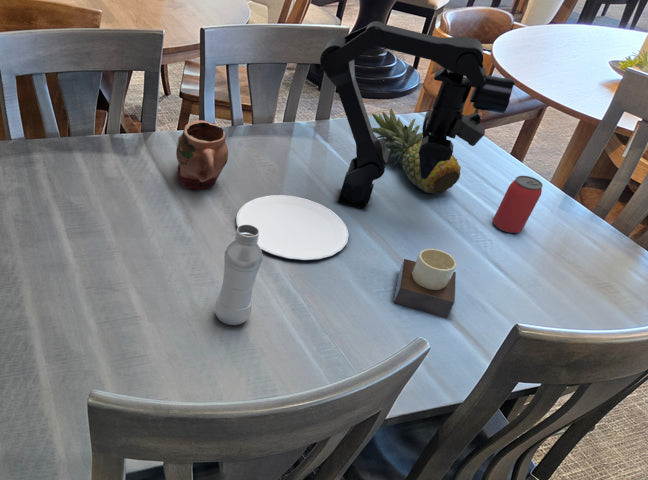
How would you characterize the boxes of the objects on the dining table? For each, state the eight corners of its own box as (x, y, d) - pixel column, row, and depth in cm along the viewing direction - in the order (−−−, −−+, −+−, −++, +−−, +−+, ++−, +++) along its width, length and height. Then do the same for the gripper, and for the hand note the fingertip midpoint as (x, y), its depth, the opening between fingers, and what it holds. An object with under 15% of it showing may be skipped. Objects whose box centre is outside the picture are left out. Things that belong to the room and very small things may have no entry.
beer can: (525, 236, 144) (549, 191, 136) (495, 232, 145) (517, 187, 137) (517, 220, 149) (540, 176, 141) (488, 216, 150) (510, 172, 142)
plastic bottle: (210, 306, 120) (224, 219, 107) (245, 305, 121) (263, 219, 108) (216, 330, 115) (231, 242, 102) (252, 329, 116) (272, 241, 103)
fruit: (477, 155, 148) (404, 91, 167) (430, 172, 147) (362, 106, 166) (464, 197, 158) (397, 133, 177) (420, 214, 157) (357, 147, 176)
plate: (212, 227, 140) (213, 222, 139) (275, 187, 155) (276, 182, 154) (309, 279, 128) (310, 274, 127) (367, 230, 142) (369, 226, 142)
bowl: (409, 284, 122) (418, 264, 119) (412, 264, 127) (420, 245, 124) (446, 294, 120) (456, 274, 117) (447, 274, 125) (456, 254, 122)
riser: (393, 302, 124) (400, 287, 121) (398, 273, 131) (404, 258, 128) (447, 317, 121) (454, 302, 118) (448, 287, 128) (455, 272, 126)
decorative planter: (235, 203, 148) (244, 150, 139) (185, 208, 146) (191, 154, 137) (210, 161, 163) (216, 111, 154) (164, 165, 160) (168, 114, 151)
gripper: (491, 129, 122) (462, 197, 132) (490, 94, 136) (463, 158, 146) (432, 117, 125) (407, 185, 135) (436, 84, 139) (413, 148, 149)
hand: (424, 168), depth 141 cm, fingers open, 9 cm apart
